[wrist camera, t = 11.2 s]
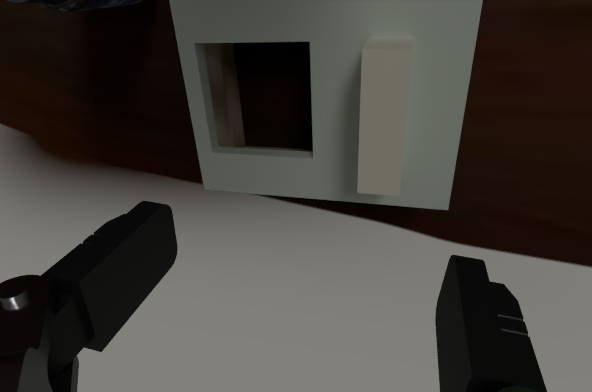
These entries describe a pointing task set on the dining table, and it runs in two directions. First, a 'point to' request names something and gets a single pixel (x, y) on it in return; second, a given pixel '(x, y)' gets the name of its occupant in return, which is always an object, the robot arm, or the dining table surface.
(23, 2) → the pill bottle
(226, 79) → the wooden frame
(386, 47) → the lid
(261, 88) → the dining table surface
